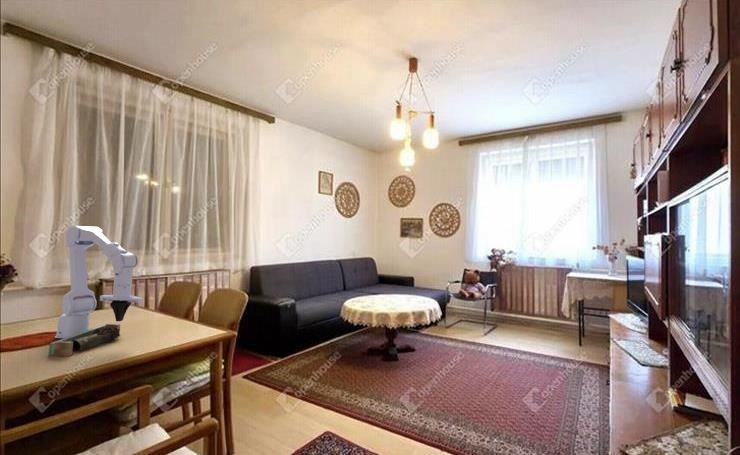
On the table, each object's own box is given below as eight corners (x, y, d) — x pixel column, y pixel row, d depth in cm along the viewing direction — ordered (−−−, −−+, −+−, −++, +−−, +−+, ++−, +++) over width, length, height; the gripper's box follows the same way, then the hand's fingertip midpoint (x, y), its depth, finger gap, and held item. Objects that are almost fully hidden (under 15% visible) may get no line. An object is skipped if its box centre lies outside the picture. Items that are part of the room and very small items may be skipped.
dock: (48, 355, 122) (49, 341, 122) (103, 333, 149) (104, 323, 149) (68, 356, 122) (69, 343, 122) (119, 334, 149) (120, 323, 149)
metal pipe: (80, 353, 126) (81, 337, 127) (63, 351, 128) (65, 335, 128) (122, 339, 144) (123, 325, 144) (107, 337, 145) (108, 323, 145)
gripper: (95, 285, 132) (92, 322, 132) (136, 287, 133) (132, 324, 133) (108, 282, 139) (105, 317, 139) (146, 285, 140) (143, 320, 140)
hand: (119, 320), depth 136 cm, fingers closed
